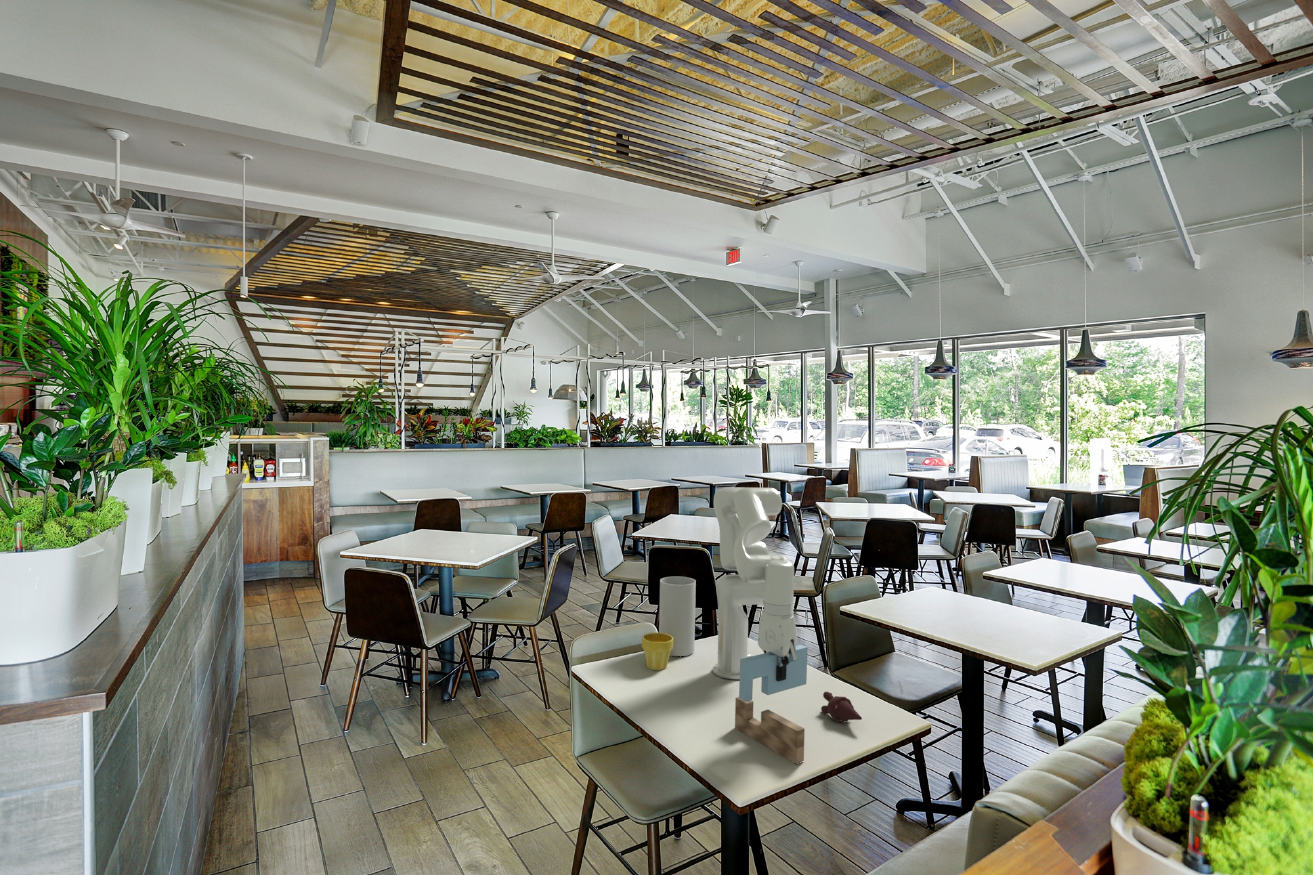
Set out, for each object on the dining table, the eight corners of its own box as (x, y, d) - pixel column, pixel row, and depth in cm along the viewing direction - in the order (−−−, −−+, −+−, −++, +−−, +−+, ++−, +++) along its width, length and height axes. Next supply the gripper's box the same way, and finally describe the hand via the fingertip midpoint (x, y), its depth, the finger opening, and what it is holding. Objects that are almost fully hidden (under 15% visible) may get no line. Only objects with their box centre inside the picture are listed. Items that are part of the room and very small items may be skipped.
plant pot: (675, 662, 218) (676, 633, 218) (669, 674, 208) (669, 643, 208) (645, 659, 220) (646, 630, 220) (637, 670, 210) (638, 640, 210)
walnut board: (734, 727, 172) (735, 697, 172) (741, 725, 173) (742, 695, 173) (796, 764, 154) (797, 731, 154) (803, 761, 155) (804, 728, 155)
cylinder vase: (671, 642, 237) (673, 574, 237) (700, 650, 230) (702, 580, 230) (651, 652, 227) (653, 581, 227) (681, 660, 220) (683, 587, 219)
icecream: (873, 705, 172) (834, 689, 186) (852, 703, 169) (814, 687, 183) (869, 733, 171) (831, 714, 184) (848, 731, 168) (810, 712, 181)
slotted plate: (799, 681, 177) (800, 644, 177) (806, 684, 175) (807, 647, 175) (739, 698, 165) (740, 659, 164) (745, 701, 163) (746, 662, 162)
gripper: (746, 603, 174) (745, 671, 175) (791, 618, 161) (789, 692, 162) (767, 599, 179) (765, 665, 179) (811, 614, 165) (809, 685, 166)
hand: (776, 677), depth 170 cm, fingers closed on slotted plate, 2 cm apart
